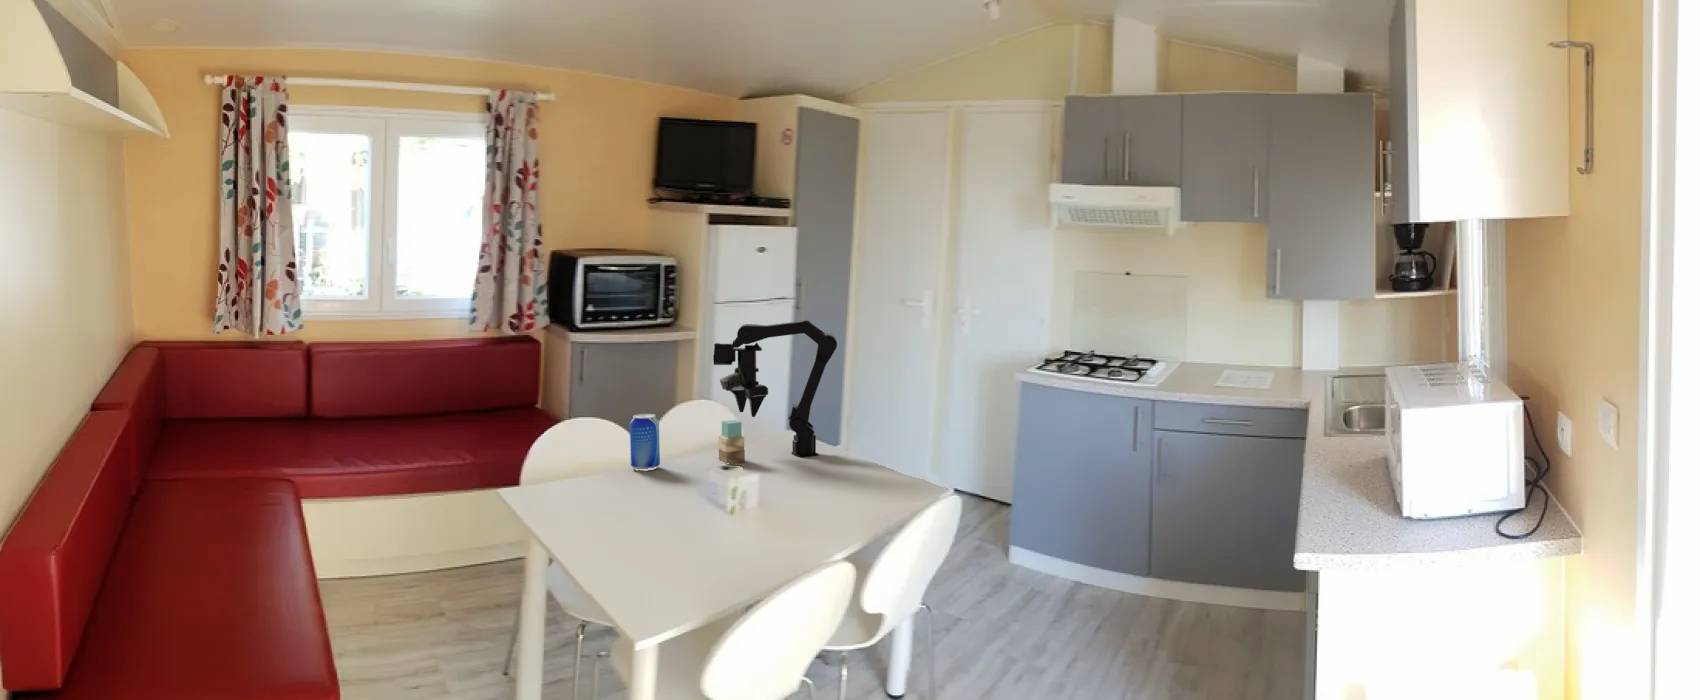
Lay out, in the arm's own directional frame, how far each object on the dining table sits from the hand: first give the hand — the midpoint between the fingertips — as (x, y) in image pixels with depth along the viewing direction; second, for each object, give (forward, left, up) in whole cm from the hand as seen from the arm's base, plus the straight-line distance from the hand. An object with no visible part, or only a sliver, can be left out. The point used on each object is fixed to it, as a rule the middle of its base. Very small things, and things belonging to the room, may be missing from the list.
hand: (747, 414), depth 321 cm
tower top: (+8, +6, -9) cm, 13 cm away
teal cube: (+8, +6, -5) cm, 11 cm away
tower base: (+8, +6, -13) cm, 16 cm away
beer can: (+34, +2, -13) cm, 37 cm away
